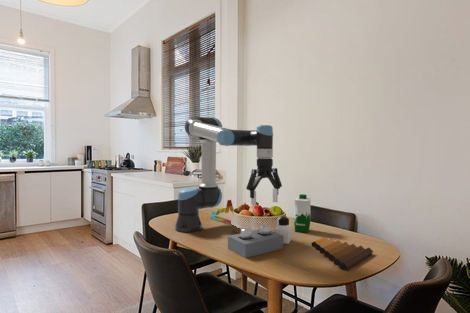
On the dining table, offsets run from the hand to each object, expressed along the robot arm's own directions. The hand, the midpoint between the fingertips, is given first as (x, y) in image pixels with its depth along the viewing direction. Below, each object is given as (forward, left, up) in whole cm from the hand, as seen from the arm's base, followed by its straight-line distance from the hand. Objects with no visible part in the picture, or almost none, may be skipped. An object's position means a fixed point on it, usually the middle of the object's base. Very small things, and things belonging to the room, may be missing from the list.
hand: (264, 203), depth 143 cm
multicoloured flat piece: (-47, +8, -21) cm, 52 cm away
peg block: (0, -5, -21) cm, 21 cm away
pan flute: (+25, +19, -21) cm, 38 cm away
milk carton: (-9, +35, -21) cm, 42 cm away
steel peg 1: (0, -11, -16) cm, 19 cm away
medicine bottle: (-1, +13, -21) cm, 25 cm away
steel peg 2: (0, 0, -16) cm, 16 cm away
